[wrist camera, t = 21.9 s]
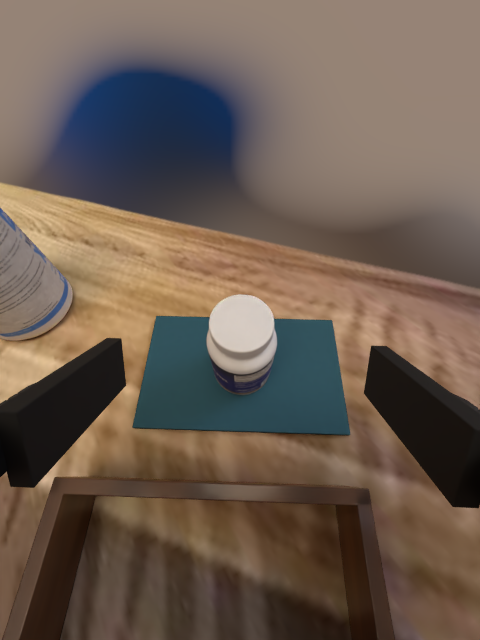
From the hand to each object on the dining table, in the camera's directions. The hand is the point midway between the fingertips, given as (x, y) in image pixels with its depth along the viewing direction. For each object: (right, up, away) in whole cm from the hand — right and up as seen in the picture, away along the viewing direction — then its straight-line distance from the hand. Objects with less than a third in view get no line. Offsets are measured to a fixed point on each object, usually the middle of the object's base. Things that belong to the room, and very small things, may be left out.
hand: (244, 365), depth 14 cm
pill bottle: (0, -3, +14) cm, 14 cm away
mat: (0, -3, +14) cm, 14 cm away
